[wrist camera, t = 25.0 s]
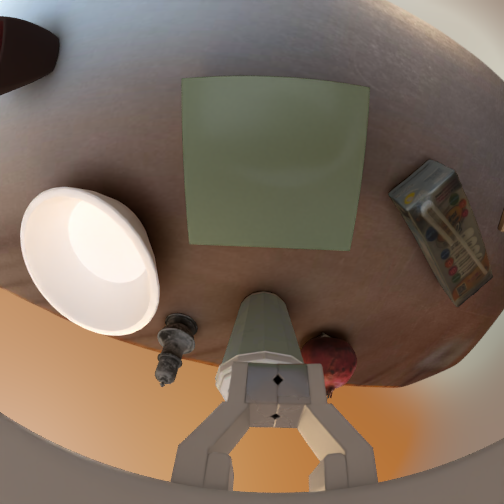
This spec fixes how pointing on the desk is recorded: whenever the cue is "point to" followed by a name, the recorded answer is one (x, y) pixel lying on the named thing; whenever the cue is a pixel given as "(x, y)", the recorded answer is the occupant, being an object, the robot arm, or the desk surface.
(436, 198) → the beverage carton
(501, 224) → the board
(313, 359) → the fruit
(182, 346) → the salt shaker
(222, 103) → the lid
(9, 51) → the dark brown plant pot
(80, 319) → the bowl
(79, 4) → the desk surface
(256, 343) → the disposable coffee cup
